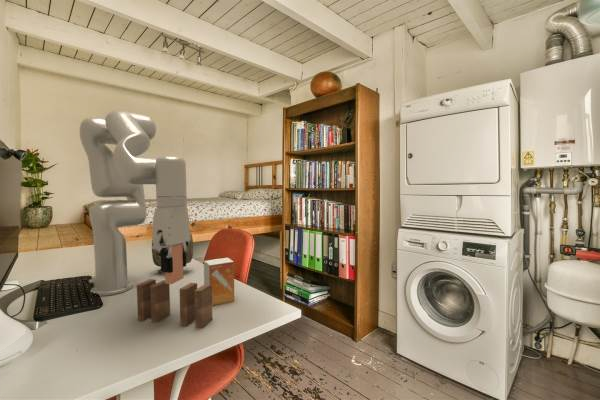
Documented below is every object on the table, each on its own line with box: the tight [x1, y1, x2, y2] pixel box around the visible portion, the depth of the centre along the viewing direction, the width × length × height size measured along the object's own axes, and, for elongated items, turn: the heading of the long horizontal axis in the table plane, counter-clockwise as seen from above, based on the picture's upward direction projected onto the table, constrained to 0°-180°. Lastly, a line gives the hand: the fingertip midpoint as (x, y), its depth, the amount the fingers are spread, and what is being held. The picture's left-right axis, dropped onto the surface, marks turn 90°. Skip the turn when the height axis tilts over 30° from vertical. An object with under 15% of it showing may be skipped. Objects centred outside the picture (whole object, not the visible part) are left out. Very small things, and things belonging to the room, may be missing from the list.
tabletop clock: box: [151, 233, 194, 274], centre depth 122 cm, size 14×9×25 cm, turn 73°
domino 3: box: [164, 243, 184, 285], centre depth 79 cm, size 2×5×10 cm, turn 166°
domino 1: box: [136, 278, 157, 322], centre depth 82 cm, size 2×5×10 cm, turn 166°
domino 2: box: [150, 279, 171, 324], centre depth 81 cm, size 2×5×10 cm, turn 166°
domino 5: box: [194, 283, 213, 329], centre depth 78 cm, size 2×5×10 cm, turn 166°
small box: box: [203, 257, 235, 307], centre depth 93 cm, size 8×6×13 cm
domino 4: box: [179, 282, 198, 327], centre depth 79 cm, size 2×5×10 cm, turn 166°
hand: (174, 268), depth 79 cm, fingers closed on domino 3, 4 cm apart
